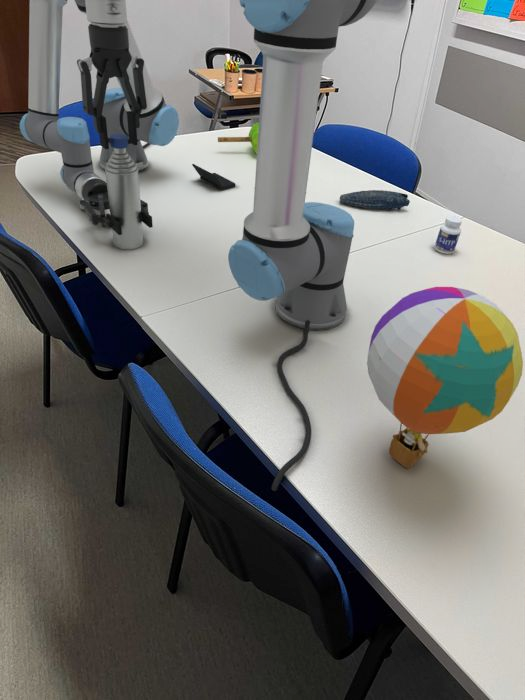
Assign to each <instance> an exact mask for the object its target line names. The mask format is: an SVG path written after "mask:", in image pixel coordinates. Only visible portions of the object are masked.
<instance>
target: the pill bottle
mask: <svg viewBox="0 0 525 700" xmlns="http://www.w3.org/2000/svg"><path fill="white" fill-rule="evenodd" d="M462 222H463V219H461V218H460V217H458V216H455V215H448V216H446V218H445V220H444V223H443V224H442V225H440V228H439V231H438V234H437V237H436V240H435V243H434V250H435V251H437V252H439V253H441V254H447V255H449V254H453V253H454V252H455V250H456V247H457V244H458V242H459V239H460V236H461V233H462V229H461V225H462Z"/></svg>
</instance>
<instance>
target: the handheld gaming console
mask: <svg viewBox="0 0 525 700" xmlns="http://www.w3.org/2000/svg"><path fill="white" fill-rule="evenodd" d="M191 165H192V167H193V168H194V170H195V172H196V173H197V174H198V175H199V180H202V181H203V182H205V183H207V184H210V185H212V186H213V187H214V188H217V189H218V190H220V191H223V190H226V189H230V188H234V187H236V182H234V181H232V180H230V179H228V178H226V177H224V176H222V175H220V174H219V173H216V172H210V171H208V170H206V169H205V168H202V167H201V166H198V165H196V164H195V163H192V164H191Z"/></svg>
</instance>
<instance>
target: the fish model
mask: <svg viewBox="0 0 525 700" xmlns="http://www.w3.org/2000/svg"><path fill="white" fill-rule="evenodd" d="M410 202H411V201H410V200H409V195H408V194H406V193H403V192H402V193H401V192H399V191H392V190H382V189H380V190H379V189H377V190H376V189H368V190H360V191H352V192H348V193H344V194H341V195H340V196H339V203H343V204H346V205H349V206H351V207H357V208H362V209H371V210H372V209H374V210H384V211H385V210H386V211H391V210H394V209H397V210H402V208H404V207H408V206H409V205H410Z"/></svg>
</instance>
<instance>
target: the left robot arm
mask: <svg viewBox="0 0 525 700" xmlns="http://www.w3.org/2000/svg"><path fill="white" fill-rule="evenodd" d="M74 3H75V5H76V6H77V10H78V11H79V12H81V13H83V14H85V15H87V14H86V4H85V0H74ZM66 4H68V0H29V15H28V16H29V19H28V21H29V23H28V24H29V25H28V27H29V29H28V33H29V34H28V51H29V52H28V110H27V113H25V114H24V115H23V116H22V117H21V120H20V121H19V130H20V133H21V135H22V137H23V138H24V139H26V141H29V142H31V143H33V144H35V145H37V146H40V147H43V148H47V149H49V150H52V151H54V152H58V153H59V154H61V159H62V166H61V169H60V172H59V173H60V174H59V175H60V178H61V181H62V182H63V184H64V185H65V186H66V187H67V188H68V190H70V191H72V192H73V193H74V194H75V195H76V196H78V197H79V198H80V200H79V208H80V211H81V212H82V213H84V214H85V215H86V217H87V219H89V221H90V222H91V223H92V225H94V226H97V225H99V224H100V225H101V227H102V228H108V229H111V230H112V229H113V230H114V231H115V232H116V233H117V234H118V235H122V229H121V223H119V222H118V221H117V220H116V219H115V218H114V217H112V216H111V215H110V213H106V210H110V207H109V199H108V190H107V181H105V180H103V179H102V178H101V177H100V176H98V175H97V174H96V173H95V172H94V171H95V170H94V164H93V158H92V148H91V141H90V138H91V136H90V133H89V129H88V124H87V121H86V120H85V119H83V118H81V117H79V116H77V117H76V116H64V117H60V118H59V111H60V85H61V83H60V82H61V63H62V61H61V60H62V36H63V34H62V33H63V10H64V9H63V8H64V7H65V6H66ZM124 26H126V27H127V28H128V38H129V52H130V54H131V56H133V57H139V58H141V59H143V56H142V53H141V51H140V49H139V46H138V43H137V41H136V38H135V36H134V34H133V30H132V28H131V25H130V23H129V20H127V22H126V23H125V24H124ZM127 73H128V76H129V79H130V80H129V81H130V84H131V87H132V90H133V92H134V95H135V98H136V93H135V86H134V78H133V67H132V66H131V62H130V64H129V66H128V68H127ZM115 78H116V80H117V82H118V85H119V86H120V87H116V88H106V94H105V99H104V105H103V111H102V115H103V116H104V117H106V125H107V134H108V143H109V149H105V148H103V147H102V146H101V150H100V155H99V166H100V168H101V169H102V170H104V171H105V167H106V163H107V162H108V160H109V159H110V156H111V155H112V152H114V148H112V147H111V146H110V135H112V134H124V135H126V136H127V138H128V147H127V148H126V152H128V155H130V156H131V159H133V161H134V162H135V163H136V166H137V168H138V173H140V172H142V171H144V170H146V169H147V168H148V166H149V164H148V157H147V154H146V152H145V148H146V147H148V146H149V145H153V146H159V147H165V146H168V145H169V144H171V142H172V141H173V140H174V139H175V137H176V136H177V132H178V130H179V125H180V117H179V113H178V111H177V109H176V108H175V107H174V106H172V105H170V104H167V103H166V101H165V98H164V96H163V93H162V91H161V90H160V89H159V88H157V87H154V85H153V81H152V79H151V76H150V74H149V72H148V69H147V66H146V64H145V63H144V67H143V78H144V86H145V94H146V102H147V108H146V109H145V110H144V109H143V110H141V114H139V122H140V127H139V128H136V129H137V143H138V145H133V144H132V143H130V142H129V133H128V121H127V111H131V110H130V108H129V105H128V102H127V100H126V97H125V94H124V92H123V89H122V86H121V83H120V81H119V79H118V77H115ZM142 142H144V144H142ZM140 203H141V216H142V224H145V225H146V226H147V227H148V228H149V229H150V228H151V229H152V228H153V226H154V225H153V216H152V215H151V214H150V212H149V204H148V202H146V201H144V200H142V199H141V198H140ZM96 211H98V212H99V214H97V213H96Z"/></svg>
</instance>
